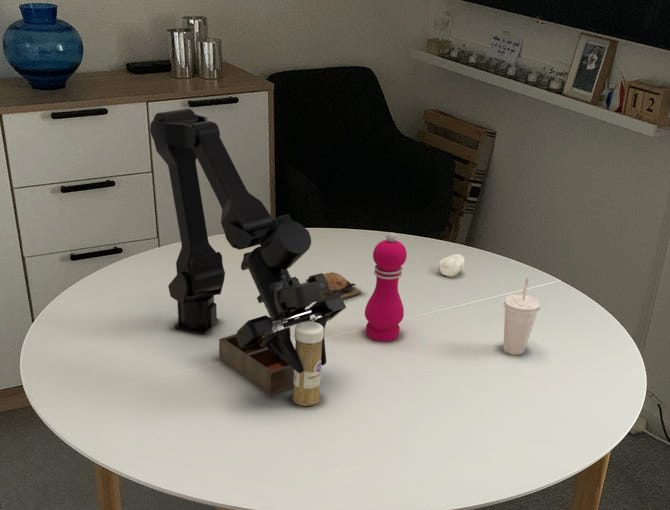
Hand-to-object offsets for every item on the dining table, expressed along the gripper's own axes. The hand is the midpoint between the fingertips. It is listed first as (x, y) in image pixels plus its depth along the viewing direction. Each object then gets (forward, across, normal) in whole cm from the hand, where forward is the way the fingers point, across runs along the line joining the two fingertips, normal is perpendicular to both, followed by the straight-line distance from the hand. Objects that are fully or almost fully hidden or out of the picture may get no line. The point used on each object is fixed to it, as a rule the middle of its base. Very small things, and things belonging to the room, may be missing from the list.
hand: (312, 368), depth 142 cm
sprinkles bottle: (+4, 0, +6) cm, 7 cm away
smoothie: (+9, +42, 0) cm, 43 cm away
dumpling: (-14, +60, +23) cm, 65 cm away
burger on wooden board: (-19, +32, +28) cm, 47 cm away
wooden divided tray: (-5, 0, +14) cm, 15 cm away
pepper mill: (-4, +27, +14) cm, 30 cm away
